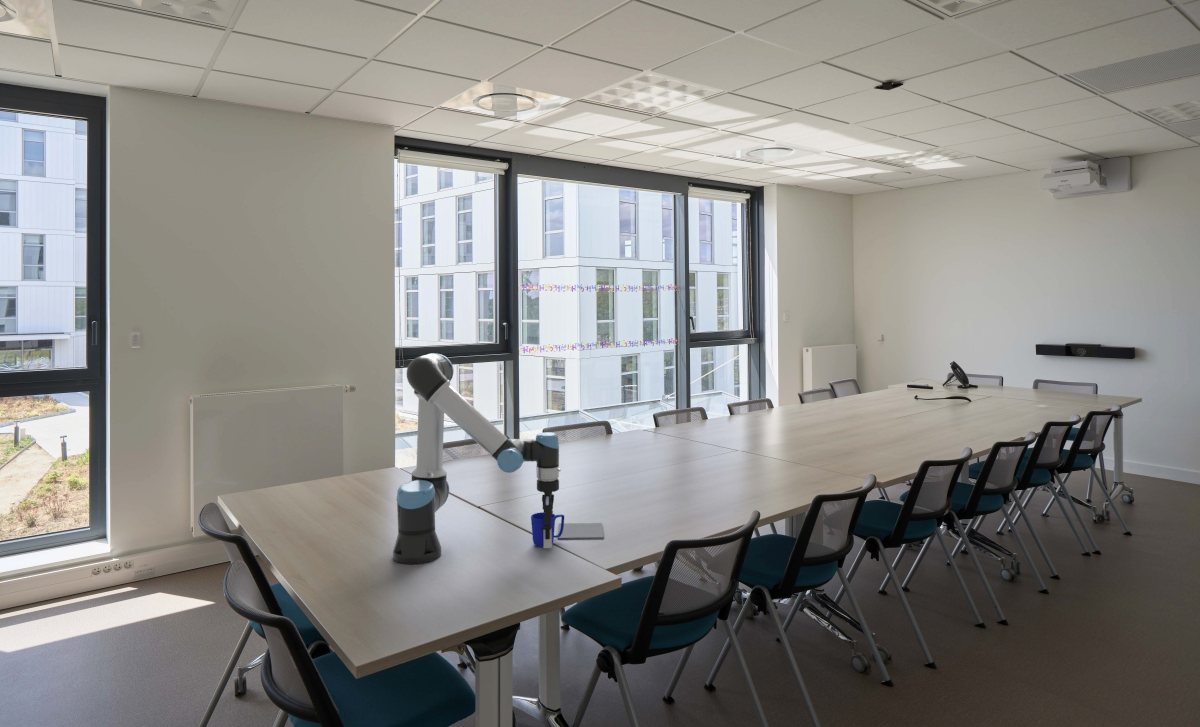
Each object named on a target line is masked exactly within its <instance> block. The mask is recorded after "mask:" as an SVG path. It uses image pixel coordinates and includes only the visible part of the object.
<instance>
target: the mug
mask: <svg viewBox="0 0 1200 727" xmlns="http://www.w3.org/2000/svg"><path fill="white" fill-rule="evenodd" d="M554 514H555V513H553V514H552V513H551V527H552V545H553V543H554V541H555V538H557V539H558V537H560V536H561V535H562V532H563V527H564V523H565V515H564V514H555V515H554ZM557 518H561V520H560V521H561V522H560V523H561V529H560V532H559V534H558V533H557V534H556V535H555V527H556V526H555V525H556V519H557ZM530 522H531V524H530V525H531V531H532V532H531V533H532V534H531V535H532V543H533V544H534V546H535V547H538V548H544V535H543V530H542V529H541V527H543V526H544V511H542V512H536V513H533V514H532V515H530ZM545 526H549V525H545Z"/></svg>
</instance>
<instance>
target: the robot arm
mask: <svg viewBox="0 0 1200 727" xmlns="http://www.w3.org/2000/svg"><path fill="white" fill-rule="evenodd" d="M453 376H454V366H453V363H452V361H451V360H450V359H449V358H448V357H447V356H445V355H443V354H440V353H435V352H433V353H428V354H424V355H420V356H418V357H415V358H414V359H412V360H411V361H410V363H409V364H408V365H407V369H406V379H407V382H408V383H409V385H410V386H411V388H412V389H413V394H414V395H415V396H416V397H417V399H418V407H417V408H418V409H417V412H418V413H417V438H416V445H417V446H416V467H415V469H414V470H412V472H411V481H409V482H404V483H403V484H402V485H400V486H399V487H398V489H397V491H396V492H397V494H396V504H397V505H396V506H397V508H396V510H397V537H396V540H395V543H394V548H393V550H392V559H393V560H394V561H395V562H396V563H399V564H405V565H413V564H414V565H417V564H424V563H428V562H429V563H430V562H432V561H435V560H437V559H438V558H440V557H441V556H442V546H441V542H440V540H439V537H438V535H437V532H436V513H437V511H438V510H440V509H441V507H443V506H444V505H445V503H446V501H447V500H448V497H449V494H450V485H449V482H448V481H447V474H448V473H447V471H446V470H445V469H444V468H443V459H444V430H445V429H444V427H445V426H444V425H445V424H444V423H445V415H447V417H448V418H449V419H451V420H452V422H454V423H455V424H456V425H457V426H459V428H460V429H461V430H463V431H464V433H465V434H467V435H468V436H469V437H470V438H472V440H474V441H475V442H476V443H477V444H478V446H480V447H481V448H482V449H484V451H486V452H487V453H488V454H489V455H490V456H491V457H492V458H493V459H494V460H495V461H496V462H497V466H498V468H499V470H501V471H502V472H504V473H508V474H509V473H510V474H511V473H514V472H516V471H517V470H519V469H520V468H521V467H522V465H523V463H524V462H533V463H534V462H535V463H536V478H537V479H536V490H537V491H538V492H540V493H543V494H542V495H541V501H542V510H543V512H544V526H543V527H541V529H542V530H543V535H544V547H543V549H552V548H553V544H552V527H551V513H552V514H554V515H556V514H555V513H554V511H553V510H554V502H555V494H553V493H555V492H557V491H559V489H560V480H559V477H560V475H559V474H560V472H561V471H562V470H561V468H560V467H559V466H560V462H559V461H560V460H559V459H560V446H559V435H558V434H557V433H555V432H550V431H548V432H547V431H546V432H538V433H537V434H536V437H535V438H508V437H507V436H506V435H505V434H504V433H502V431H500V430H499V429H498V428H497V426H495V425H494V424H493V423H492V422H491V421H489V419H487V418H486V417H485V416H484V415H483V414H482V413H481V412H480V411H478V410H477V409H476V408H475V407H474V406H473V404H472V403H470V402H469V401H467V399H466V398H465V397H463V396H462V395H461V394H460V393H459V392H458V390H456V389H454V387H453V386H452V385H451V381H452V379H453ZM545 525H549V526H545Z"/></svg>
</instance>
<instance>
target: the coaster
mask: <svg viewBox="0 0 1200 727" xmlns="http://www.w3.org/2000/svg"><path fill="white" fill-rule="evenodd" d="M603 528H604V527H603V523H602V522H584V523H583V522H575V523H573V522H568V523H567V522H566V523H565V522H564V527H563V532H562V535H561V536H560V537H558V538H557V540H558V541H559V540H604V538H605V535H604V529H603ZM560 529H561V522H560V523H558V526H557V535H558V534H559V532H560Z"/></svg>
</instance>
